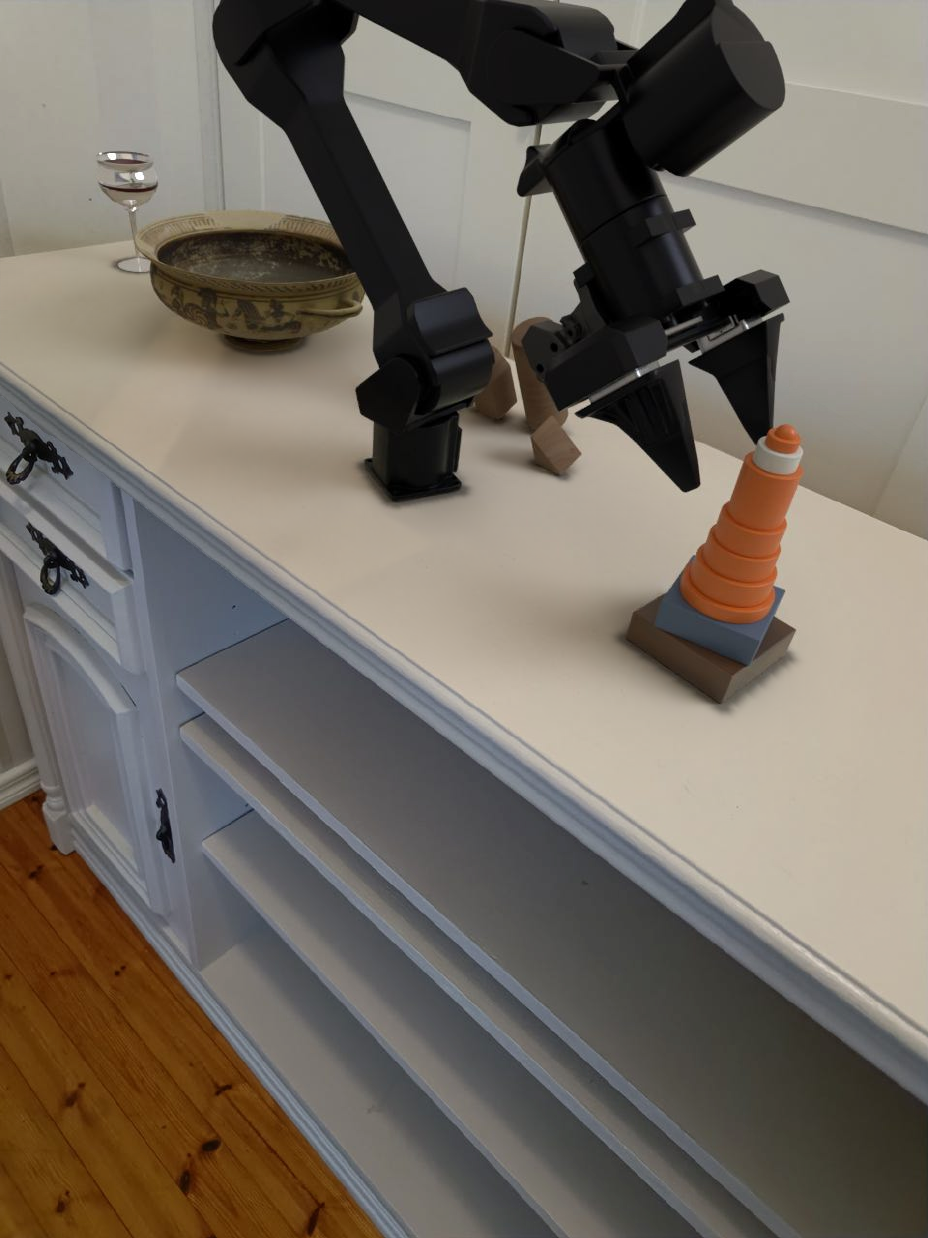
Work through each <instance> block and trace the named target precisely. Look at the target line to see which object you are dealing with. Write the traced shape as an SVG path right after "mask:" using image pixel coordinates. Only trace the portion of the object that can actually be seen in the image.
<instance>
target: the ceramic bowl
mask: <svg viewBox="0 0 928 1238" xmlns="http://www.w3.org/2000/svg"><path fill="white" fill-rule="evenodd" d="M135 244H136V247H137V249H138V250H139V253H141V255H142V256H144V257H145V259H148V260H150V261H151V263H150V271H149V279H150V283H151V286H152V290H153V292H154V293H155V294H156V296H157V297H158V299H159V300H160V301H161V302H162V304H164V306H165V307H166V308H168V309H169V310H171V312H173V313H174V314H176V315H177V316H179V317H181V318H182V319H184V320H186V321H187V322H190V323H192V324H194V325H196V326H198V327H201V328H204V329H207V330H209V331H212V332H215V333H218V334H222V335H223V337H224V339H225V340H226V342H228V343H229V344H230V345H232V346H234V347H237V348H240V349H242V350H249V351H254V352H256V351H257V352H277V351H282V350H288V349H290V348H293V347H295V346H297V345H298V344H299V343H300V342H301V340H302V338H303V337H306V336H311V335H315V334H318V333H322V332H324V331H326V330H327V331H328V330H329V329H332V328H335V327H336V326H338V325H340V324H342V323H343V322H345V321H347V320H348V319H351V318H355V317H357V316H359V315H360V314H361V313H362V312H363V310H364V306H363V304H362V303H363V301H364V298H365V295H366V293H365V291H364V289H363V287H362V285H361V283H360V281H359V279H358V277H357V275H356V273H355V271H354V269H353V267H352V265H351V263H350V261H349V259H348V257H347V255H346V253H345V251H344V249H343V247H342V245H341V243H340V241H339V239H338V237H337V235H336V233H335V231H334V229H333V227H332V225H331V223H330V221H326V220H323V219H318V218H314V217H309V216H301V215H297V214H292V213H284V212H278V211H272V210H261V209H221V210H209V211H203V212H195V213H189V214H182V215H175V216H170V217H166V218H162V219H159V220H156V221H152V222H150V223H149V224H147V225H145V226H143V227H142V228H140V229H139V230H137V234H136V235H135Z"/></svg>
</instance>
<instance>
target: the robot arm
mask: <svg viewBox="0 0 928 1238" xmlns="http://www.w3.org/2000/svg"><path fill="white" fill-rule="evenodd" d="M212 15H213V16H212V23H211V29H212V30H211V31H212V39H213V43H214V46H215V49H216V52H217V53H218V56H219V60H220V61H221V63H222V65H223V67H224V69H225V70H226V71H227V73H228V74H229V76H230V77H231V79H232V80H233V82H234V83H235V85H236V87H237V88H238V90H239V91H240V93H241V95H242V96H243V97H244V99H245V100H246V102H247V103H249V104H250V105H251V106H252V107H253V108H254V109H256V110H257V111H259V112H260V113H261V114H262V115H264V116H265V117H266V118H267V119H269V120H270V121H271V122H272V123H274V124H275V125H276V126H277V127H279V128H280V129H281V130H282V131H283V132H284V134H285V135H286V136H287V138H288V140H289V143H290V145H291V146H292V147H291V148H293V150H294V152H295V155H296V156H297V158H298V161H299V162H300V165H301V166H302V169H303V171H304V173H305V175H306V177H307V179H308V181H309V183H310V184H311V187H312V188H313V190H314V193H315V195H316V197H317V199H318V200H319V203H320V205H321V207H322V209H323V211H324V213H325V215H326V216H327V218H328V222H330V223H331V225H332V227H333V229H334V231H335V233H336V235H337V237H338V239H339V241H340V243H341V245H342V247H343V249H344V251H345V253H346V255H347V257H348V259H349V261H350V263H351V265H352V267H353V269H354V271H355V273H356V275H357V277H358V279H359V281H360V283H361V285H362V287H363V289H364V291H365V295H366V296H367V298H368V300H369V303H370V305H371V308H372V311H373V329H372V330H373V331H372V353H373V356H374V358H375V361H376V364H377V367H378V369H377V370H376V371H374V372H373V373H372V374H371V375H369V376H368V377H367V378H366V379H364V380H363V381H362V382H361V383H359V384H358V385H357V386H356V387H355V389H354V392H355V397H356V402H357V407H358V410H359V411H358V412H359V415H361V416H362V417H364V418H366V419H367V420H369V421H371V422H373V430H372V434H373V435H372V457H367V458H365V459H364V460H363V465H364V467H365V469H366V470H367V471H368V472H369V474H370V475H371V476H372V477H373V479H374V480H375V481H376V482H377V484H378V485H379V486H380V488H381V489H382V490H383V491H384V493H385V494H386V495H387V497H388V498H389V499H391V501H394V502H399V501H404V500H410V499H416V498H421V497H426V496H427V497H428V496H431V495H437V494H443V493H449V492H454V491H459V490H461V489H462V485H463V483H462V481H461V480H460V478H458V476H456V475H455V473H457V472H458V470H459V465H460V457H461V447H462V439H463V428H462V427H461V426H460V425H459V424H460V413H459V411H462V410H464V409H469V408H472V407H473V405H475V403H474V401H475V399H476V397H477V395H478V394H479V393H481V392H482V391H483V390H484V389H485V388H486V387H487V386H488V384H489V381H490V379H491V376H492V368H493V365H494V364H495V357H494V352H493V349H492V346H493V345H492V344H491V342H490V340H489V338H492V337H493V336H494V332H493V331H492V330H491V329H490V328H489V327H488V326H487V325H486V324H485V322H484V320H483V318H482V316H481V314H480V312H479V309H478V306H477V303H476V300H475V297H474V296H473V295H472V292H470V290H469V289H468V288H467V287H466V286H463V287H460V288H459V287H458V288H456V289H451V290H449V291H448V290H447V289H446V288H445V287H443V286H442V285H441V284H439V283H438V282H437V281H436V280H435V279H433V277H432V275H431V274H430V272H429V270H428V267H427V266H426V264H425V261H424V259H423V257H422V256H421V253H420V251H419V250H418V247H417V245H416V243H415V241H414V239H413V237H412V235H411V233H410V231H409V229H408V226H407V225H406V223H405V221H404V218H403V217H402V215H401V212H400V210H399V208H398V206H397V204H396V203H395V200H394V198H393V196H392V194H391V192H390V190H389V188H388V186H387V184H386V181H385V179H384V178H383V176H382V173H381V172H380V170H379V168H378V165H377V164H376V161H375V159H374V157H373V155H372V153H371V151H370V148H369V147H368V144H367V143H366V141H365V139H364V137H363V135H362V133H361V131H360V128H359V127H358V125H357V122H356V120H355V119H354V116H353V114H352V112H351V110H350V108H349V106H348V104H347V102H346V99H345V81H346V80H345V79H346V78H345V77H346V55H345V52H344V49H343V47H342V46H343V45H344V43H346V42H347V41H348V40H349V39H350V38H351V37H352V35H353V34H355V32H356V31H357V28H358V23H359V19H360V17H362V18H363V19H366V20H368V21H370V22H372V23H373V24H376V25H377V26H379V27H381V28H383V29H385V30H387V31H389V32H390V33H392V34H394V35H396V36H398V37H400V38H402V39H404V40H405V41H408V42H410V43H412V44H414V45H415V46H418V47H419V48H420V49H423V50H425V51H427V52H430V53H431V54H433V55H435V56H437V58H440V59H442V60H444V61H446V62H447V63H448V64H449V65H450V66H452V67H453V68H454V69H455V70H456V71H457V72H458V73H459V75H460V77H461V79H462V81H463V82H464V85H465V87H466V89H467V91H468V92H469V93H470V94H471V95H472V96H474V97H475V98H476V99H477V100H478V101H479V102H480V103H481V104H482V105H484V106H485V107H486V108H487V109H489V111H491V112H492V113H493V114H494V115H495V116H496V117H498V118H499V119H500V120H502V121H503V122H504V123H506V124H508V125H509V126H514V127H517V128H524V127H534V126H543V125H552V124H561V123H570V122H571V123H572V124H571V126H569V127H568V128H567V129H566V130H565V131H564V132H563V133H562V134H561V135H559V137H558V138H556V140H555V139H554V141H553V142H552V143H544V144H543V143H542V144H533V145H529V146H527V147H526V149H525V159H524V160H525V162H524V166H523V168H522V170H521V172H520V174H519V177H518V182H517V186H516V193H517V195H518V196H519V197H521V198H525V197H532V196H536V195H537V196H538V195H542V194H548V193H549V194H550V193H552V194H553V197H554V198H555V201H556V203H557V205H558V208H559V210H560V212H561V214H562V217H563V219H564V220H565V223H566V225H567V227H568V229H569V232H570V234H571V236H572V238H573V241H574V243H575V245H576V247H577V249H578V251H579V254H580V256H581V258H582V261H583V262H584V263H583V264H582V265H580V266H579V267H577V268H576V269H575V270H573V271H572V274H573V277H574V278H573V282H572V283H573V286H574V288H575V290H576V292H577V295H578V299H579V303H578V304H577V305H576V306H575V308H574V309H573V310H572V312H571V313H568V314H566V315H563V316H562V317H561V318H560V319H559V321H558V322H559V323H558V322H555V321H554V320H553V321H550V320H546V321H543V322H540V323H537V324H534V325H531V326H530V327H529V328H528V330H527V332H526V333H525V335H524V337H523V338H522V340H521V343H522V346H523V348H524V351H525V354H526V357H527V359H528V362H529V365H530V367H531V368H532V370H533V371H534V372H535V373H536V378H537V380H538V381H539V382H541V383H544V385H545V387H546V389H547V391H548V393H549V395H550V397H551V400H552V402H553V404H554V406H555V408H556V410H557V412H558V413H559V412H561V411H564V410H566V409H568V410H569V409H571V408H573V407H575V406H577V405H579V404H582V403H584V402H586V401H587V400H588V401H589V403H590V404H588V405H586V406H584V407H582V408H580V409H579V410H577V411H576V412H574V413H573V414H574V415H575V416H576V417H577V418H579V419H581V420H583V419H585V418H591V419H595V420H599V421H602V422H605V423H608V424H612V425H614V426H616V427H617V428H618V429H620V430H621V431H622V432H623V433H624V434H626V435H627V436H628V437H629V438H630V439H631V440H632V442H634V443H636V445H637V446H638V447H639V448H640V449H641V450H642V451H643V452H644V453H645V454H646V455H647V456H648V457H649V459H651V460H652V461H653V462H654V464H655V465H656V466H657V467H658V468H659V469H660V470H661V471H662V472H663V474H665V475H666V476H667V478H669V479H670V481H671V482H672V483H673V484H674V485H675V486H676V487H677V488H678V489H679V490H680V491H681V492H682V493H686V494H687V493H689V492H692V491H695V490H697V489H699V488H700V486H701V484H702V482H701V475H700V474H701V473H700V466H699V458H698V452H697V449H696V442H695V437H694V432H693V426H692V421H691V416H690V415H691V414H690V411H689V406H688V405H689V404H688V399H687V393H686V389H685V382H684V378H683V373H682V367H681V363H680V359H679V358H677V359H675V360H672V361H670V362H668V363H666V364H663V365H660V362H659V361H660V360H661V359H663V358H665V357H667V354H668V353H670V352H673V351H674V350H677V349H679V348H682V347H683V348H684V349H685V350H687V351H688V352H689V353H690V354H694V353H697V352H699V351H700V352H701V354H700V355H698V356H696V357H694V358H692V359H690V360H689V361H687V363H688V364H689V365H690V366H692V367H693V368H697V369H699V370H701V371H703V372H705V373H707V374H709V375H711V376H713V377H714V378H715V379H716V381H717V383H718V385H719V387H720V388H721V390H722V392H723V394H724V395H725V398H726V400H727V401H728V402H729V404H730V406H731V408H732V410H733V412H734V413H735V415H736V417H737V419H738V420H739V422H740V424H741V425H742V427H743V429H744V431H745V432H746V434H747V435H748V437H749V438H750V440H751V441H752V442H753V444H754V446H755V447H756V446H757V443H758V440H759V439H760V438H762V437H765V436H767V433H768V431H769V430H770V429H772V428H774V424H775V423H774V418H775V399H776V380H777V364H778V353H779V346H780V345H779V344H780V333H781V325H782V323H783V322H785V314H784V312H781V313H779V314H776V315H774V316H772V317H769V318H766V319H765V320H764V319H763V318H765V317H766V316H768V315H770V314H771V313H774V312H776V311H777V310H779V309H781V308H782V307H784V306H786V305H788V304H790V303H791V301H790V298H789V295H788V294H787V291H786V289H785V286H784V284H783V282H782V279H781V276H780V275H779V274H776V273H773V272H771V271H767V270H764V269H758V270H755V271H752V272H749V273H746V274H743V275H741V276H738V277H735V278H734V279H732V280H730V281H728V282H727V283H725V284H724V285H723V282H722V280H721V278H720V276H719V274H715V275H712V276H710V277H707V278H704V277H703V273H702V272H701V270H700V267H699V264H698V263H697V261H696V258H695V256H694V253H693V252H692V249H691V246H690V243H689V242H688V240H687V238H686V235H685V233H687V232H688V231H689V230H691V229H693V228H694V227H695V226H697V223H696V220H695V218H694V216H693V214H692V212H691V209H690V208H686V209H681V210H677V211H675V210H674V207H673V206H672V203H671V200H670V198H669V197H668V194H667V192H666V190H665V188H664V185H663V183H662V181H661V178H660V175H659V174H658V172H661V173H663V172H665V171H666V172H668V173H670V174H672V175H673V176H675V177H680V178H687V177H690V176H691V175H692V174H693V173H695V172H697V170H699V169H700V168H702V167H703V166H704V165H706V164H707V163H708V162H710V161H711V160H713V159H714V158H715V157H716V156H717V155H719V154H721V153H722V152H723V151H725V150H726V149H727V148H728V147H729V146H731V145H732V144H734V143H735V142H736V141H738V140H739V139H740V138H742V137H743V136H744V135H746V134H747V133H749V132H750V131H751V130H752V129H754V128H755V127H756V126H757V125H759V124H761V123H762V122H764V121H765V120H766V119H767V118H768V117H770V116H771V115H773V114H774V113H775V112H777V110H779V109H780V108H782V107H783V105H784V102H785V100H786V99H785V97H786V81H785V77H784V72H783V69H782V66H781V63H780V60H779V57H778V54H777V52H776V50H775V47H774V46H773V43H771V41H769V40H765V38H764V37H763V35H762V33H761V32H760V30H759V29H758V28H757V26H756V25H755V23H754V22H753V21H752V20H751V18H750V17H749V16H748V15H747V14H746V13H745V12H744V11H742V9H740V8H739V7H738V6H737V5H735V4H734V2H733V0H685V1H684V2H682V4H681V5H680V7H679V8H678V10H677V12H676V13H675V14H674V16H672V17H671V19H670V20H668V22H666V23H665V25H663V26H662V27H661V28H660V29H659V30H658V31H657V32H656V33H655V34H654V35H653V36H652V37H651V38H650V39H649V40H647V41H646V43H645V44H644V45H642V46H641V47H640V48H639V47H635V46H633V45H631V44H629V43H626V42H624V41H621V40H619V39H617V38H616V37H615V34H614V33H615V26H614V25H613V23H612V21H610V19H609V17H608V16H607V15H605V14H604V13H603V12H601V11H600V10H598V9H596V8H593V7H590V6H584V5H579V4H572V3H566V2H560V1H555V0H219V3H218V5H217V6H216V8H215V10H214V13H213V14H212ZM611 101H612V102H613V101H617V102H615V104H613V105H612V106H611V107H610V108H609V109H608V110H607V111H606V112H605V113H604V114H602V115H601V116H599V118H597V120H595V119H592V118H591V117H593V116H594V115H596V114H597V113H599V112H600V110H601V109H602V108H603V106H604V105H606V103H607V102H611ZM573 122H574V123H573Z"/></svg>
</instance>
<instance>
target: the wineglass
mask: <svg viewBox="0 0 928 1238" xmlns="http://www.w3.org/2000/svg"><path fill="white" fill-rule="evenodd" d="M93 159H94V160H95V162H96V164H97V167H96V170H95V176H96V180H97V183H98V186H99V188H100V190H101V191H102V193H103V194H104V195H106V196H107V197H108V198H109V199H110V200H111V201H112V202H114V203H116V204H118V205H121V206H123V208H124V210H125V211H128V217H129V223H130V229H131V233H132V239H133V245H134V250H135V251H134V252H135V256H136V257H133V258H128V259H123V260H121V261H119V262H118V264H117V266H118V267H119V269H121V270H123V271H127V272H135V273H145V272H150V263H151V261H150V260H148V259H147V258H143V257H140V256H141V255H140V251H139V250H138V249H137V247H136V244H135V235H136V234H137V232H138V224H137V216H136V215H137V214H136V211H138V210H139V208H140V207H141V206H142V205H144V204H147V203H148V202H149V201H150V200H151V199H152V198H153V196H154V195H155V194H156V192H157V190H158V187H159V177H158V175H157V172H156V170H155V168H154V163H155V161H156V158H155V156H152V155H151V154H149V153H145V152H140V151H139V152H138V151H131V150H107V151H101V152H96V153H95V154H94V155H93ZM118 267H117V268H118Z"/></svg>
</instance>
